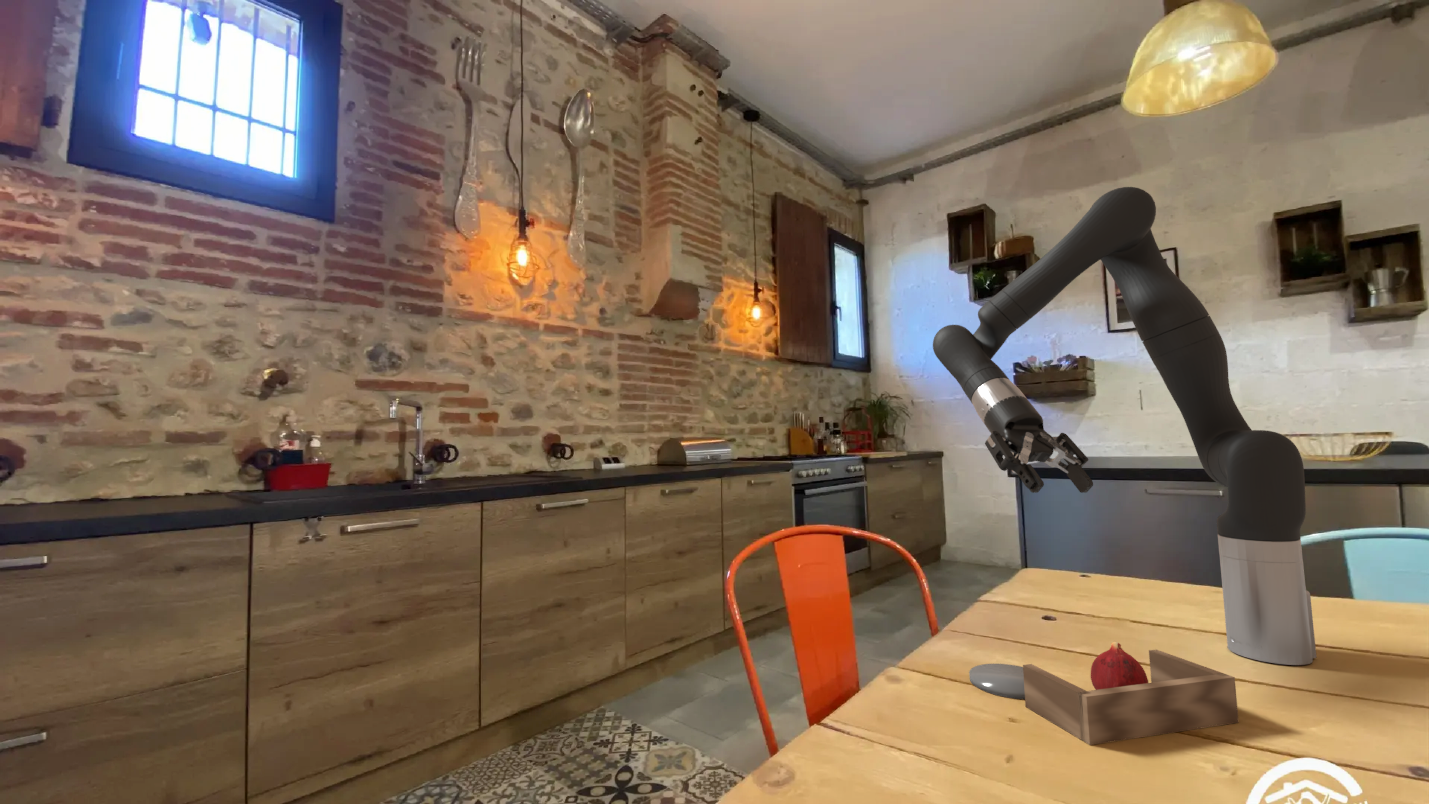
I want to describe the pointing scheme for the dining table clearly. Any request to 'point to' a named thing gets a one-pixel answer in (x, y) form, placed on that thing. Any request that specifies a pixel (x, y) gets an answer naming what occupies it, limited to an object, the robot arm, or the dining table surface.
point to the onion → (1116, 669)
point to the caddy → (1136, 701)
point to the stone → (999, 679)
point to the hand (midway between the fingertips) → (1063, 489)
